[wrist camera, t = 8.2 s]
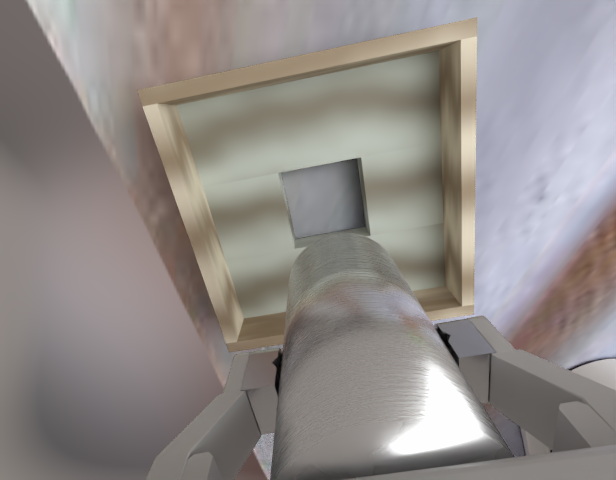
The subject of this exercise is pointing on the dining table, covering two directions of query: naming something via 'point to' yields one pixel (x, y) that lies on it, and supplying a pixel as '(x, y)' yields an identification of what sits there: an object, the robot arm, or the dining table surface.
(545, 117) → the dining table surface
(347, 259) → the peg
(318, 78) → the socket box
